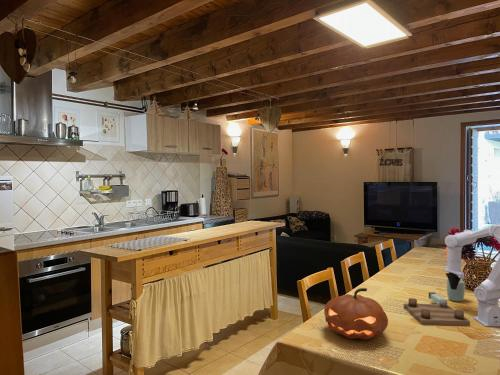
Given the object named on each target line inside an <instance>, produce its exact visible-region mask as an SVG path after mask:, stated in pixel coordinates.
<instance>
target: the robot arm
mask: <svg viewBox="0 0 500 375" xmlns="http://www.w3.org/2000/svg"><path fill="white" fill-rule="evenodd" d="M489 236H491V237H494V239H496V241H497V242H498V244H500V224H499V223H498V224H494V225H489V226H485V227H483V228H481V229H480V228H479V229H478V230H475V231H473V230H470V229H464V230H463V231H461V232H455V233H454V234H449V235H447V236H445V239H444V244H445V245H446V247H447V254H446V255H447V257H446V259H447V260H446V262H447V264H446V265H444V271H445V272H446V273H445V275H446V278H447V280H449V283H450V288H451V289H455V290H456V289H457V286H458V283H459V281H460V280H462V279H464V278H465V273H464V272H463V270H462V250H463V247H464V246H466V245H469V244H470V245H471V244H475V243H476V242H477V239H480V238H484V237H489ZM473 292H474V297H475V298H476V300H477V316H472V318H473V319H475V320H476V321H477V322H479V323H480V324H482V325H483V326H485V327H500V305H499V301H500V256H499V257H498V259H497V261H496V262H495V264H494V266H493V268H492V269H491V271H490V272H489V275H488V276H487V278H486V279H484V281H482V282H481V283H480V284H479V285H478V286H476V287H475V289H474V291H473Z"/></svg>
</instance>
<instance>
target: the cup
mask: <svg viewBox="0 0 500 375" xmlns="http://www.w3.org/2000/svg"><path fill="white" fill-rule="evenodd" d="M465 285H466V284H465V281H464V280H462V279H460V281H459V283H458V286H457V289H456V290H455V289H451V288H450V283H449V280H448V279H447V280H446V294H447V298H448V299H449V300H450V301H451V302H458V303H459V302H462V301H464V298H465V291H466V289H465V288H466V286H465Z"/></svg>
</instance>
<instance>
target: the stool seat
mask: <svg viewBox="0 0 500 375" xmlns="http://www.w3.org/2000/svg"><path fill="white" fill-rule="evenodd" d="M403 309H404V310H405V311H407V313H408V314H409V315H411V316H412V318H414V320H416V322H418V323H419V324H420V325H422V326H453V327H454V326H457V327H458V326H459V327H470V326H471V321H470V320H469V319H468V318H467V317H466V316H465V311H464V310H461V309H454V308H453V307H451V306H450V305H449V304H447V307H441V306H439V305H438V304H437V303H429V304H428V303H418V300H417V299H416V298H412V297H411V298H410V297H409V298H408V303H403Z"/></svg>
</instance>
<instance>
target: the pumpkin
mask: <svg viewBox="0 0 500 375" xmlns="http://www.w3.org/2000/svg"><path fill="white" fill-rule="evenodd" d="M361 292H368V288H367V287H362V288H361V287H360V288H358V289H356V290H355V291H354V293H353V295H352V294H349V293H346V294H342V295H340V296H335V297H333V298H331V299H330V300H328V302H327V303H326V304H325V306H324V309H323V313H324V314H323V315H324V318H325V323H327V326H328V328H329V330H331V331H332V332H334V333H335V334H338V335H341V336H343V337H345V338H347V339H348V340H349V339H350V340H353V339H360V340H362V341H363V340H366V341H367V340H370V339H371V338H373V337H376V336H379V335H381V334H382V333H384V332H385V330H386V329H387V328H388V324H389V319H388V316H387V314H386V311H384V308H383V307H382V306H381V304H380V303H379V302H378V301H376V300H375V299H373V298H371V297H367V296H366V297H365V296H363V295H361V294H358V293H361Z"/></svg>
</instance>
